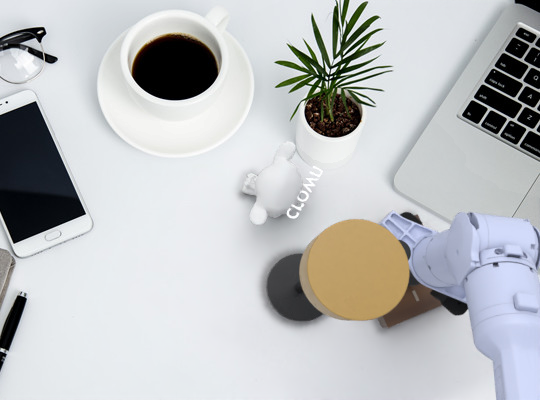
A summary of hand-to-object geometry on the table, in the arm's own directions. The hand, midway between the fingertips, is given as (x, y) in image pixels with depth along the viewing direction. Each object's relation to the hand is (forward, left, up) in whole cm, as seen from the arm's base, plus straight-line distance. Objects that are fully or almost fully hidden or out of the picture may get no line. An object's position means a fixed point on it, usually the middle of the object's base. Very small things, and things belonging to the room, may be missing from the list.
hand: (412, 267), depth 76 cm
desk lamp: (+3, +13, -7) cm, 15 cm away
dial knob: (0, 0, -4) cm, 4 cm away
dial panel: (0, 0, -7) cm, 7 cm away
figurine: (+16, +11, -7) cm, 21 cm away
